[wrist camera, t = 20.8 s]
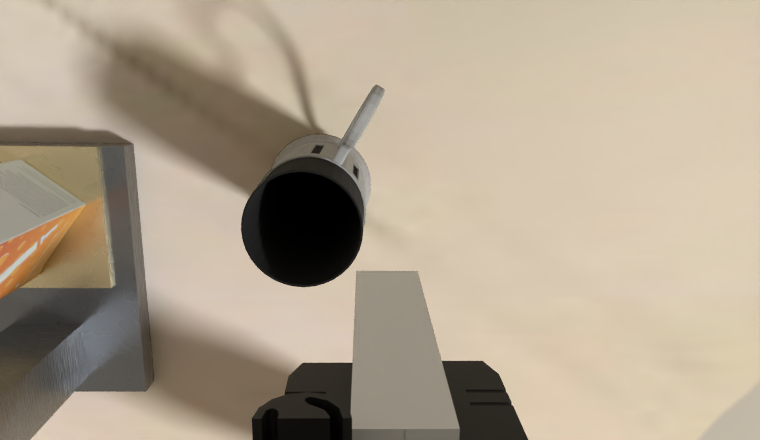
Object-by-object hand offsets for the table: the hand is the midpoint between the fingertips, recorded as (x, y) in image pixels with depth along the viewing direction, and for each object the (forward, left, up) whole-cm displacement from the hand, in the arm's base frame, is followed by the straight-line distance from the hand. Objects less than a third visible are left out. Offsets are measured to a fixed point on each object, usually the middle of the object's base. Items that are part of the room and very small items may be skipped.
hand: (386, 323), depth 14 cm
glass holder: (+1, -3, -37) cm, 37 cm away
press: (+11, -28, -36) cm, 47 cm away
